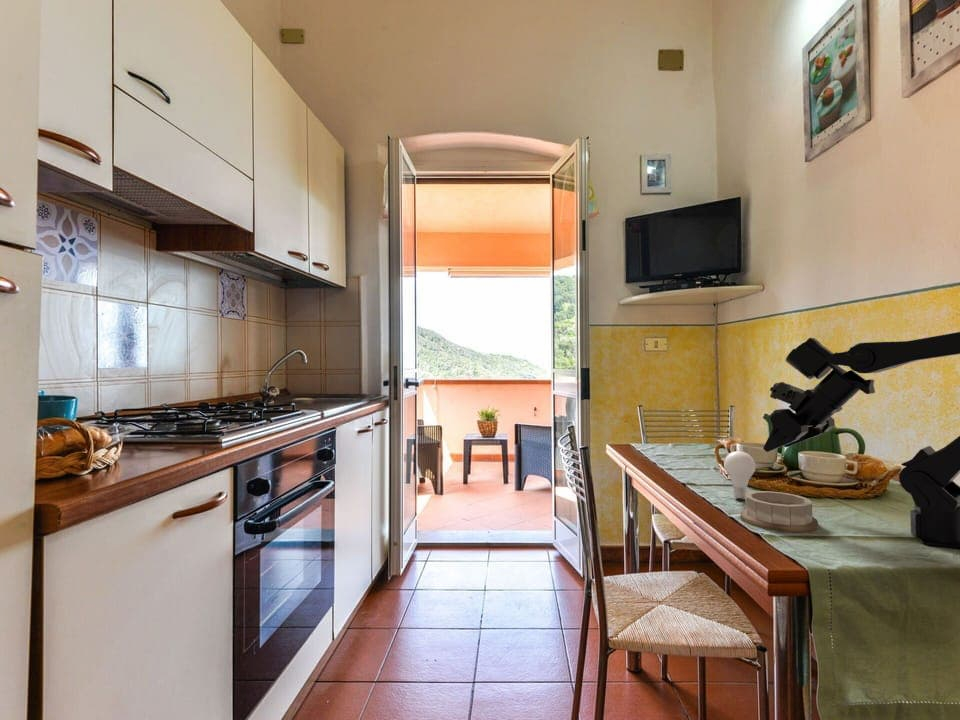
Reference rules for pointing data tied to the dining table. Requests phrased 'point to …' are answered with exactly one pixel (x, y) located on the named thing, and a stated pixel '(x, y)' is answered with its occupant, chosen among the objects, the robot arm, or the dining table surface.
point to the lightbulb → (739, 471)
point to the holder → (779, 512)
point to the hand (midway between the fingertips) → (774, 447)
